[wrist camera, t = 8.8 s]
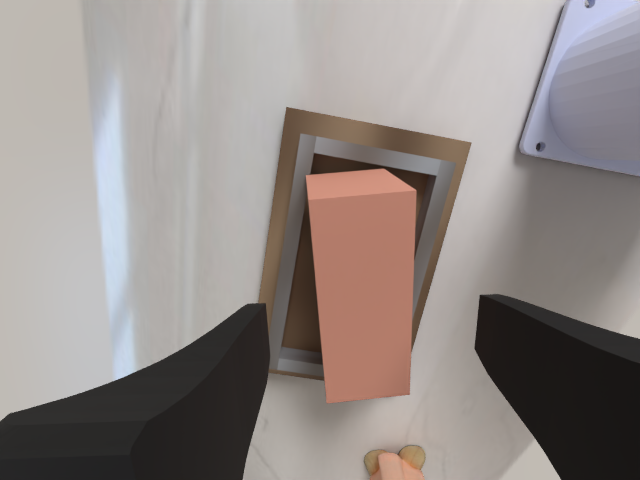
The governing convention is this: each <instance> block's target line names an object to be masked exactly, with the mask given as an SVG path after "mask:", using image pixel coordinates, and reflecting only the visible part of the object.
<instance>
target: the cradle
mask: <svg viewBox="0 0 640 480" xmlns="http://www.w3.org/2000/svg"><path fill="white" fill-rule="evenodd" d="M470 146H471V142H465V141H460V140H455V139H450V138H445V137H439V136H434V135H429V134H424V133H419V132H413V131H408V130H403V129H398V128H393V127H387V126H382V125H377V124H372V123H367V122H361V121H356V120H351V119H346V118H341V117H335V116H330V115H325V114H320V113H315V112H309V111H304V110H299V109H294V108H289V107H286V114H285V121H284V128H283V135H282V142H281V149H280V156H279V163H278V170H277V177H276V184H275V191H274V198H273V205H272V212H271V219H270V226H269V233H268V240H267V247H266V254H265V261H264V268H263V275H262V282H261V289H260V296H259V303H266V311H267V322H268V334H269V345H270V364H269V373H276V374H283V375H289V376H296V377H303V378H310V379H317V380H323V381H325V379H324V369H323V359H322V348H321V338H320V327H319V316H318V305H317V294H316V283H315V272H314V261H313V250H312V238H311V227H310V216H309V205H308V194H307V183H306V175H314V174H326V173H337V172H349V171H361V170H372V169H385V170H387V171H388V172H390V173H391V174H393V175H394V176H396V177H397V178H399V179H400V180H402V181H403V182H405V183H406V184H408V185H409V186H411V187H412V188H414V189H415V190H417V192H416V221H415V250H414V279H413V308H412V337H411V352H412V348H413V345H414V342H415V338H416V335H417V331H418V328H419V324H420V321H421V317H422V314H423V310H424V307H425V303H426V300H427V296H428V293H429V289H430V286H431V282H432V279H433V275H434V272H435V268H436V265H437V261H438V258H439V254H440V251H441V247H442V244H443V240H444V237H445V233H446V230H447V226H448V223H449V219H450V216H451V213H452V209H453V206H454V202H455V199H456V195H457V192H458V188H459V185H460V181H461V178H462V174H463V171H464V167H465V164H466V160H467V157H468V153H469V150H470Z"/></svg>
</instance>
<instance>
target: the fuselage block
mask: <svg viewBox="0 0 640 480" xmlns="http://www.w3.org/2000/svg"><path fill="white" fill-rule="evenodd" d="M306 183H307V194H308V205H309V216H310V227H311V238H312V250H313V261H314V272H315V283H316V294H317V305H318V316H319V327H320V338H321V348H322V359H323V369H324V379H325V390H326V400H327V403H335V402H345V401H354V400H363V399H373V398H382V397H392V396H401V395H410V367H411V337H412V308H413V279H414V250H415V221H416V192H417V190H415V189H414V188H412V187H411V186H409V185H408V184H406V183H405V182H403V181H402V180H400V179H399V178H397V177H396V176H394V175H393V174H391V173H390V172H388V171H387V170H385V169H372V170H361V171H349V172H337V173H326V174H314V175H306Z"/></svg>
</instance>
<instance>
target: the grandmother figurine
mask: <svg viewBox="0 0 640 480" xmlns="http://www.w3.org/2000/svg"><path fill="white" fill-rule="evenodd" d="M364 462H365V465H366V467H367V470H368V472H369V474H370V476H371V477H370V480H425V479H424V476H423V473H422V471H420V470H421V468H422V466H423V464H424V462H425V452H424V450H423V449H422V448H421V447H418V446H407V447H405V448H403V449H402V450H401V451H400V453H399V456H398V455H397V454H395V453H388V452H386V451H384V450H375V451H371V452H369V453H368V454H367V455H366V456H365V459H364Z"/></svg>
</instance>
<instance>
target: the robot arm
mask: <svg viewBox="0 0 640 480" xmlns="http://www.w3.org/2000/svg"><path fill="white" fill-rule="evenodd" d="M587 1H588V2H589V7H588V8H586V7H585V0H566V2H565V5H564V8H563V11H562V14H561V17H560V21H559V24H558V27H557V30H556V33H555V36H554V39H553V42H552V45H551V48H550V51H549V55H548V58H547V61H546V64H545V67H544V70H543V73H542V76H541V79H540V82H539V85H538V89H537V92H536V95H535V98H534V101H533V104H532V107H531V110H530V113H529V116H528V119H527V123H526V126H525V129H524V132H523V135H522V138H521V141H520V145H519V149H520V151H521V152H522V153H523V154H525V155H530V156H536V157H541V158H546V159H551V160H557V161H562V162H567V163H572V164H577V165H583V166H588V167H593V168H598V169H603V170H609V171H614V172H619V173H624V174H629V175H635V176H640V1H635V0H587ZM538 143H540V145H541V148H540V150H539V151H537V150H536V145H537V144H538ZM475 350H476V352H477V354H478V356H479V358H480V360H481V362H482V364H483V366H484V368H485V369H486V371H487V373H488V375H489V376H490V378H491V379H492V380H493V382H494V383H495V385H496V386H497V387H498V389H499V390H500V391H501V393H502V394H503V396H504V397H505V398H506V400H507V401H508V402H509V404H510V405H511V406H512V408H513V409H514V410H515V412H516V413H517V414H518V416H519V417H520V419H521V420H522V421H523V423H524V424H525V425H526V427H527V428H528V429H529V431H530V432H531V433H532V435H533V436H534V437H535V439H536V440H537V442H538V443H539V444H540V446H541V448H542V449H543V450H544V452H545V454H546V455H547V457H548V459H549V460H550V462H551V464H552V465H553V467H554V469H555V470H556V472H557V473H558V475H559V477H560V478H561V480H640V339H638V338H634V337H630V336H626V335H623V334H619V333H616V332H612V331H609V330H606V329H603V328H599V327H596V326H593V325H590V324H587V323H584V322H581V321H578V320H575V319H572V318H569V317H566V316H563V315H560V314H558V313H555V312H552V311H549V310H546V309H544V308H541V307H538V306H535V305H532V304H530V303H527V302H524V301H521V300H518V299H515V298H511V297H508V296H504V295H499V294H494V295H480V299H479V309H478V319H477V330H476V340H475ZM269 364H270V345H269V334H268V322H267V311H266V303H255V304H247V305H245V306H243V307H242V308H240V309H239V310H238V311H236V312H235V313H234V314H232V315H231V316H230V317H228V318H227V319H226V320H224V321H223V322H222V323H220V324H219V325H218V326H216V327H215V328H214V329H212V330H211V331H209V332H208V333H206V334H205V335H203V336H202V337H200V338H199V339H197V340H196V341H194V342H193V343H191V344H190V345H188V346H186V347H185V348H183V349H181V350H179V351H178V352H176V353H174V354H172V355H170V356H168V357H167V358H165V359H163V360H161V361H159V362H157V363H155V364H152V365H150V366H148V367H146V368H143V369H141V370H139V371H137V372H135V373H132V374H130V375H128V376H126V377H123V378H121V379H118V380H116V381H113V382H110V383H108V384H105V385H102V386H100V387H97V388H94V389H91V390H88V391H85V392H83V393H79V394H77V395H73V396H70V397H67V398H64V399H60V400H57V401H53V402H50V403H46V404H43V405H39V406H36V407H32V408H29V409H25V410H21V411H18V412H14V413H10V414H9V415H7V416H6V417H5V418H4V419H2V420H1V421H0V480H242V479H243V473H244V468H245V462H246V458H247V454H248V450H249V446H250V442H251V438H252V435H253V431H254V428H255V424H256V421H257V417H258V413H259V410H260V406H261V403H262V399H263V395H264V392H265V388H266V384H267V378H268V372H269Z"/></svg>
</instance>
